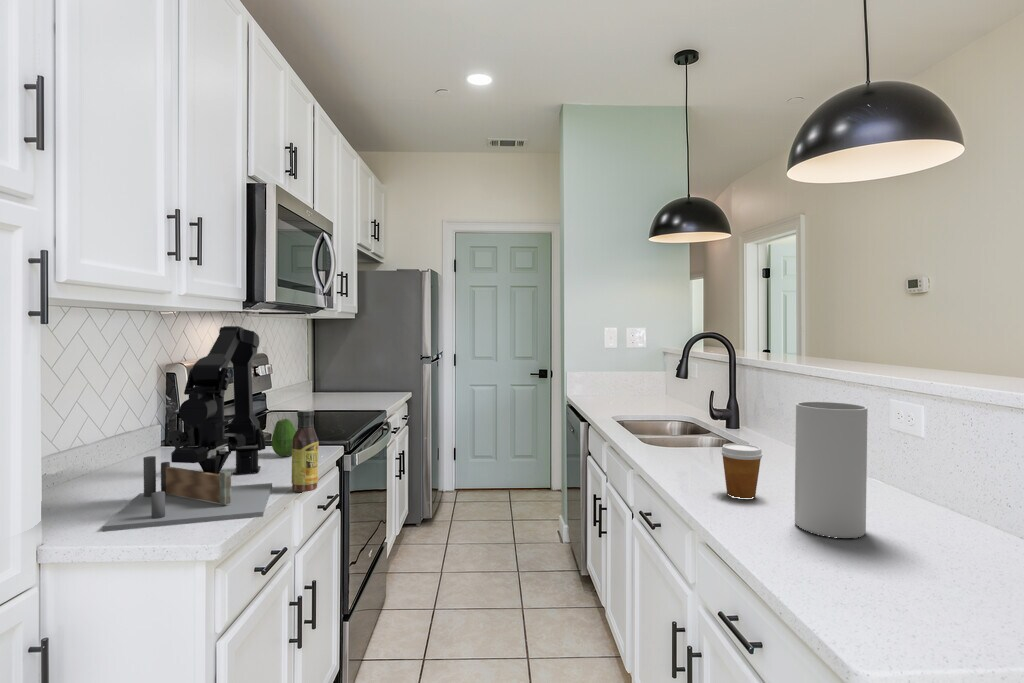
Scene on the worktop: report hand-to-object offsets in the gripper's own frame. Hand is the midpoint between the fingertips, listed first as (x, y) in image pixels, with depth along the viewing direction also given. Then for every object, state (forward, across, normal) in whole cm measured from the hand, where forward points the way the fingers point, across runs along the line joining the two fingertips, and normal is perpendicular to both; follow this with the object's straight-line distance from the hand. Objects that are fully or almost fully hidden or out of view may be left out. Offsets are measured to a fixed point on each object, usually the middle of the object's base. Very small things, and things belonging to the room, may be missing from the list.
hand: (211, 484), depth 130 cm
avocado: (+5, -46, -7) cm, 47 cm away
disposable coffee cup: (+4, -20, +124) cm, 125 cm away
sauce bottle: (+4, -12, +17) cm, 21 cm away
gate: (+3, +2, -3) cm, 4 cm away
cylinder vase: (+4, +1, +135) cm, 135 cm away
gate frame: (+4, +4, -1) cm, 5 cm away
